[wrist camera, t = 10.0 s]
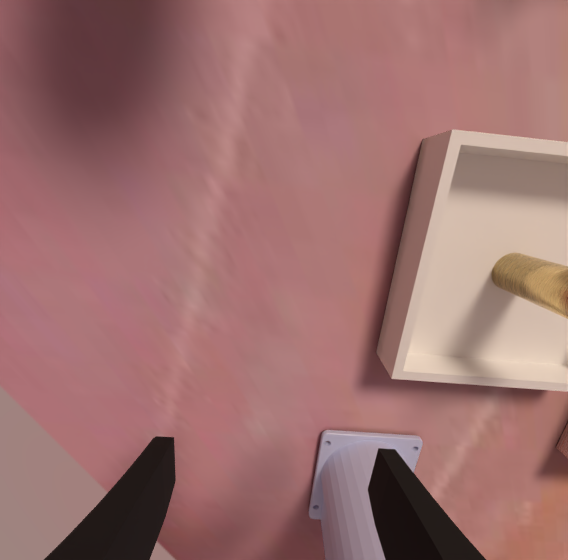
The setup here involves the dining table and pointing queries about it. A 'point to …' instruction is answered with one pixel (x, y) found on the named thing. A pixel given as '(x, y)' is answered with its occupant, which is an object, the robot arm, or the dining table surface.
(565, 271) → the pin
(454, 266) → the tray
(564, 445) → the grey square socket block
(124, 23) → the dining table surface
